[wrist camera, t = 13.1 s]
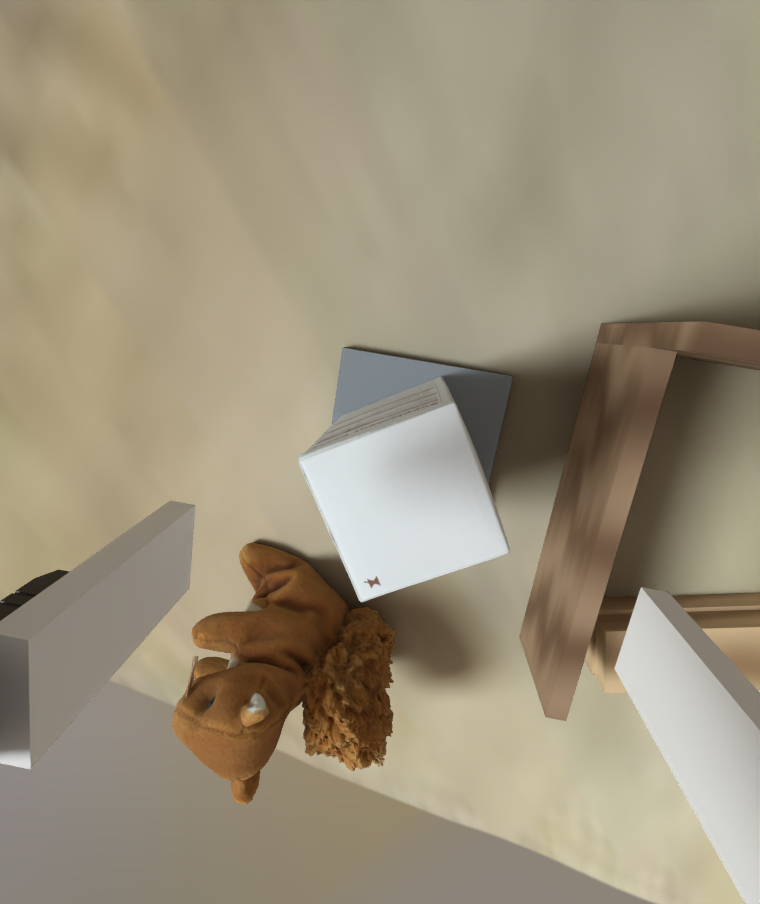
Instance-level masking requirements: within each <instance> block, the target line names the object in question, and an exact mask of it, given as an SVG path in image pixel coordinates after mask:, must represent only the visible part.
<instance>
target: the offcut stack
mask: <svg viewBox="0 0 760 904" xmlns="http://www.w3.org/2000/svg"><path fill="white" fill-rule="evenodd" d="M672 597H673V598H674V599H675V600H676V601H677V602H678V604H679V605H680V606H681V607H682V608H683V609H684V610H685V611H686V612H687V613H688V614H689V616H690V617H691V618H692V619H693V620H694V621H695V622H696V623H697V624H698V625H699V627H700V628H701V629H702V630H703V631H704V632H705V633H706V634H707V635H708V636H709V637H710V639H711V640H712V641H713V642H714V643H715V644H716V645H717V646H718V647H719V648H720V650H721V651H722V652H723V653H724V654H725V655H726V656H727V657H728V658H729V659H730V661H731V662H732V663H733V664H734V665H735V666H736V667H737V668H738V669H739V670H740V671H741V673H742V674H743V675H744V676H745V677H746V678H747V679H748V680H749V681H750V682H751V684H752V685H753V686H754V687H755V688H756V689H757V690H760V593H735V594H707V595H678V596H672ZM637 598H638V597H622V598H603V600H602V603H601V606H600V610H599V613H598V616H597V620H596V623H595V626H594V630H593V633H592V636H591V640H590V643H589V646H588V650H587V653H586V656H585V662H586V664H587V666H588V668H589V670H590V672H591V674H592V675H596V677H597V679H598V681H599V683H600V685H601V687H602V689H603V691H604V692H605V693H628V692H627V690H626V689H625V687H624V685H623V683H622V681H621V680H620V678H619V676H618V674H617V672H616V671H615V669H614V668H615V665H616V662H617V659H618V656H619V653H620V650H621V647H622V644H623V641H624V638H625V635H626V631H627V628H628V625H629V622H630V619H631V616H632V613H633V610H634V607H635V604H636V601H637Z"/></svg>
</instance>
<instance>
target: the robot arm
mask: <svg viewBox="0 0 760 904" xmlns="http://www.w3.org/2000/svg"><path fill="white" fill-rule="evenodd" d="M194 516H195V505H191V504H186V503H180V502H175V501H169V502H168V503H166V504H165V505H163V506H162V507H160V508H159V509H158V510H156V511H155V512H153V513H152V514H151V515H149V516H148V517H146V518H145V519H144V520H142V521H141V522H139V523H138V524H136V525H135V526H134V527H132V528H131V529H129V530H128V531H127V532H125V533H124V534H122V535H121V536H120V537H118V538H117V539H115V540H114V541H113V542H111V543H110V544H108V545H107V546H105V547H104V548H103V549H101V550H100V551H98V552H97V553H96V554H94V555H93V556H91V557H90V558H89V559H87V560H86V561H84V562H83V563H81V564H80V565H79V566H77V567H76V568H74V569H73V570H72V571H70V572H68V571H63V570H56V571H54V572H51V573H48V574H45V575H43V576H40V577H37V578H35V579H33V580H31V581H30V582H28V583H27V584H25V585H24V586H22V587H21V588H19V589H18V590H16V592H15V594H13V593H12V594H10V595H9V596H7V597H6V598H4V599H3V600H1V601H0V763H2V764H7V765H12V766H18V767H22V768H27V769H31V768H32V767H33V766H34V765H35V764H36V763H37V761H38V760H39V759H40V758H41V757H42V756H43V755H44V753H45V752H46V751H47V750H48V749H49V748H50V747H51V745H52V744H53V743H54V742H55V741H56V740H57V739H58V737H59V736H60V735H61V734H62V733H63V732H64V731H65V729H66V728H67V727H68V726H69V725H70V724H71V723H72V721H73V720H74V719H75V718H76V717H77V716H78V714H79V713H80V712H81V711H82V710H83V709H84V708H85V707H86V705H87V704H88V703H89V702H90V701H91V699H93V697H94V696H95V695H96V694H97V693H98V692H99V691H100V689H101V688H102V687H103V686H104V685H105V684H106V683H107V681H108V680H109V679H110V678H111V677H112V676H113V675H114V673H115V672H116V671H117V670H118V669H119V668H120V667H121V665H122V664H123V663H124V662H125V661H126V660H127V659H128V657H129V656H130V655H131V654H132V653H133V652H134V651H135V649H136V648H137V647H138V646H139V645H140V644H141V643H142V641H143V640H144V639H145V638H146V637H147V636H148V635H149V633H150V632H151V631H152V630H153V629H154V628H155V627H156V625H157V624H158V623H159V622H160V621H161V620H162V619H163V617H164V616H165V615H166V614H167V613H168V612H169V611H170V609H171V608H172V607H173V606H174V605H175V604H176V603H177V601H178V600H179V599H180V598H181V597H182V596H183V595H184V593H185V592H186V591H187V590H188V589H189V585H190V571H191V557H192V544H193V530H194ZM614 669H615V671H616V672H617V674H618V676H619V678H620V680H621V681H622V683H623V685H624V687H625V689H626V690H627V692H628V694H629V696H630V698H631V699H632V701H633V703H634V705H635V707H636V708H637V710H638V712H639V714H640V716H641V717H642V719H643V721H644V723H645V725H646V726H647V728H648V730H649V732H650V734H651V735H652V737H653V739H654V741H655V743H656V744H657V746H658V748H659V750H660V751H661V753H662V755H663V757H664V759H665V760H666V762H667V764H668V766H669V768H670V769H671V771H672V773H673V775H674V777H675V778H676V780H677V782H678V784H679V786H680V787H681V789H682V791H683V793H684V795H685V796H686V798H687V800H688V802H689V804H690V805H691V807H692V809H693V811H694V813H695V814H696V816H697V818H698V820H699V822H700V823H701V825H702V827H703V829H704V831H705V832H706V834H707V836H708V838H709V840H710V841H711V843H712V845H713V847H714V849H715V850H716V852H717V854H718V856H719V858H720V859H721V861H722V863H723V865H724V867H725V868H726V870H727V872H728V874H729V876H730V877H731V879H732V881H733V883H734V885H735V886H736V888H737V890H738V892H739V893H740V895H741V897H742V899H743V901H744V902H745V904H760V692H759V691H758V690H757V689H756V688H755V687H754V686H753V685H752V684H751V682H750V681H749V680H748V679H747V678H746V677H745V676H744V675H743V674H742V673H741V671H740V670H739V669H738V668H737V667H736V666H735V665H734V664H733V663H732V662H731V661H730V659H729V658H728V657H727V656H726V655H725V654H724V653H723V652H722V651H721V650H720V648H719V647H718V646H717V645H716V644H715V643H714V642H713V641H712V640H711V639H710V637H709V636H708V635H707V634H706V633H705V632H704V631H703V630H702V629H701V628H700V627H699V625H698V624H697V623H696V622H695V621H694V620H693V619H692V618H691V617H690V616H689V614H688V613H687V612H686V611H685V610H684V609H683V608H682V607H681V606H680V605H679V604H678V602H677V601H676V600H675V599H674V598H673V597H672V596H671V595H670V594H669V593H668V592H665V591H660V590H655V589H649V588H644V587H641V589H640V592H639V595H638V598H637V601H636V604H635V607H634V610H633V613H632V616H631V619H630V622H629V625H628V628H627V631H626V635H625V638H624V641H623V644H622V647H621V650H620V653H619V656H618V659H617V662H616V665H615V668H614Z"/></svg>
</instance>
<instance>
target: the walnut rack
mask: <svg viewBox="0 0 760 904" xmlns="http://www.w3.org/2000/svg"><path fill="white" fill-rule="evenodd" d="M676 356H677V357H683V358H689V359H695V360H701V361H707V362H713V363H719V364H725V365H731V366H737V367H743V368H749V369H755V370H760V330H755V329H749V328H743V327H737V326H731V325H725V324H718V323H712V322H706V321H695V322H652V323H608V324H601V327H600V331H599V335H598V338H597V342H596V346H595V350H594V354H593V358H592V361H591V365H590V369H589V373H588V377H587V381H586V384H585V388H584V392H583V396H582V400H581V403H580V407H579V411H578V415H577V419H576V423H575V426H574V430H573V434H572V438H571V442H570V445H569V449H568V453H567V457H566V461H565V465H564V468H563V472H562V476H561V480H560V484H559V488H558V491H557V495H556V499H555V503H554V507H553V510H552V514H551V518H550V522H549V526H548V530H547V533H546V537H545V541H544V545H543V549H542V553H541V556H540V560H539V564H538V568H537V572H536V575H535V579H534V583H533V587H532V591H531V595H530V598H529V602H528V606H527V610H526V614H525V617H524V621H523V625H522V629H521V633H520V640H521V643H522V646H523V649H524V652H525V655H526V658H527V662H528V665H529V668H530V671H531V674H532V677H533V680H534V683H535V686H536V689H537V692H538V695H539V699H540V702H541V705H542V708H543V711H544V714H545V717H548V718H553V719H558V720H564V721H566V719H567V716H568V713H569V709H570V706H571V703H572V699H573V696H574V693H575V689H576V686H577V683H578V679H579V676H580V673H581V669H582V666H583V663H584V660H585V656H586V653H587V650H588V646H589V643H590V640H591V636H592V633H593V630H594V626H595V623H596V620H597V616H598V613H599V610H600V606H601V603H602V600H603V596H604V593H605V590H606V586H607V583H608V580H609V576H610V573H611V570H612V567H613V563H614V560H615V557H616V553H617V550H618V547H619V543H620V540H621V537H622V533H623V530H624V527H625V523H626V520H627V517H628V513H629V510H630V507H631V503H632V500H633V497H634V493H635V490H636V487H637V484H638V480H639V477H640V474H641V470H642V467H643V464H644V460H645V457H646V454H647V450H648V447H649V444H650V440H651V437H652V434H653V430H654V427H655V424H656V420H657V417H658V414H659V410H660V407H661V404H662V400H663V397H664V394H665V391H666V387H667V384H668V381H669V377H670V374H671V371H672V367H673V364H674V361H675V357H676Z"/></svg>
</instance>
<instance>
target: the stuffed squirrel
mask: <svg viewBox="0 0 760 904" xmlns="http://www.w3.org/2000/svg"><path fill="white" fill-rule="evenodd" d="M239 558H240V563H241V565H242V568H243V570H244V572H245V574H246V575H247V577H248V579H249V581H250V583H251V584H252V586H253V588H254V590H255V592H256V593H255V595H254V597H253V599H252V600H251V601H250V602H249V603H248V605H247V607H246V609H245V611H244V612H223V613H217V614H213V615H210V616H207V617H205V618H204V619H202V620H201V621H199V622H198V623H197V624H196V625H195V626H194V627H193V629H192V636H193V642H194V644H195V645H196V646H198V647H200V648H203V649H209V650H213V651H219V652H225V653H231V658H230V660H227V659H223V658H220V657H206V658H203V659H201V660H199V661H198V656H195V657H193V660H192V668H191V673H190V677H189V681H188V686H187V690H186V692H185V694H184V695H183V697H182V698H181V699H180V700H179V702H178V703H177V706H176V710H175V712H174V715H173V721H172V727H173V729H174V732H175V734H176V736H177V737H178V738H179V739H180V740H181V741H182V743H184V745H185V746H186V747H187V748H188V749H190V750H191V751H192V752H193V754H194V755H195V756H196V757H197V758H198V759H199V760H200V761H201V762H202V763H203V764H204V765H206V766H207V767H208V768H210V769H211V770H213V772H215V773H216V774H217V775H219V776H220V777H221V778H224V779H226V780H232V783H231V793H232V795H233V797H234V799H235V800H236V802H238V803H242V804H248V803H249V802H250V801H251V800H252V799H253V795H254V794H255V793H256V790H257V788H258V785H259V778H260V770H261V769H262V768H263V767H264V765H265V764H266V763H267V762H268V760H269V758H270V757H271V755H272V753H273V751H274V750H275V748H276V745H277V743H278V740H279V737H280V734H281V731H282V727H283V724H284V722H285V719H286V718H287V716H288V714H289V713H290V711H292V710H293V709H294V708H295V707H297V706H298V705H299V704H300V703H301V702H303V704H302V707H303V708H304V707H305V708H304V710H303V724H304V726H305V730H304V733H303V735H304V739H305V742H306V750H305V753H307V754H309V755H310V756H313V754H314V753H315V752H317V755H319V754H322V753H324V755H326V756H327V757H328V756H332V757H333V756H334V757H335V756H337V757H338V760H339V762H340V763H341V762H345V764H346V766H347V768H348V769H350V770H352V771H354V770H355V768H360V769H361V770H362V768H367V767H370V766H371V763H372V761H373V762H374V763H375V764H377V765H378V766H380V765H381V766H383V763H382V762H383V761H384V760H385V759H384V758H383V756H385V755H386V744H387V742H386V737H387V736H390V737H391V733H393V731H392V721H393V720H392V719H393V712H392V711H391V709H390V707H391V705H390V699H389V696H388V694H387V693H386V690H385V688H390V685H389V682H390V683H393V682H394V681H393V680H392V679H391V677H392V674H391V672H390V667H389V665H390V663H391V664H392V663H393V661H392V660H391V659H390V655H389V654H390V653H391V652H390V650H392V649H393V648H395V647H396V645H394V643H395V640H394V637H395V635H396V634H395V633H396V632H397V631H396V630H390V628H389V627H388V626H387V625H386V622H384V620H383V619H382V618H381V617H380V615H379V614H378V612H379V611H374V610H372V609H370V608H369V607H365V608H364V607H363V608H361V607H360V608H356V609H352V610H349V609H348V607H347V604H346V602H345V601H344V600H343V599H342V598H341V597H340V596H339V595H338V594H337V593H336V591H335V590H334V589H333V588H332V587H331V586H329V585H328V584H327V583H326V582H325V581H324V579H322V578H321V577H320V575H319V574H318V573H317V572H316V571H315V569H314V568H313V567H312V566H311V565H310V564H309V563H308V562H306V561H304V560H303V559H301V558H298V557H296V556H294V555H292V554H290V553H287V552H285V551H282V550H280V549H276V548H274V547H270V546H267V545H261V544H257V543H249V544H247V545H245V546H244V547H243V548H242V550H241V551H240V554H239ZM194 678H195V680H194ZM193 680H194V681H193ZM334 757H333V758H334Z"/></svg>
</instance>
